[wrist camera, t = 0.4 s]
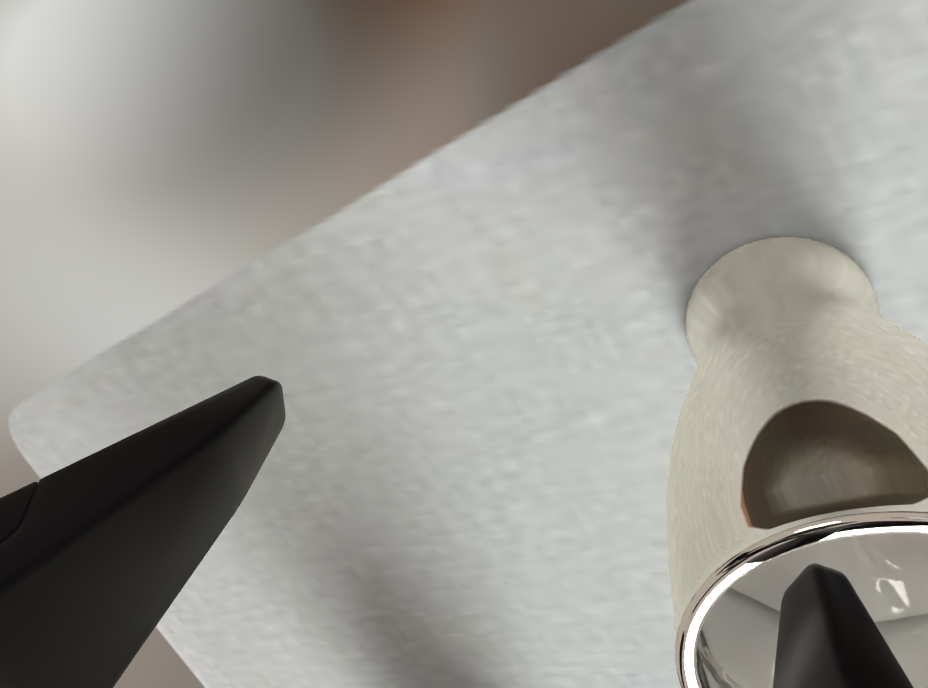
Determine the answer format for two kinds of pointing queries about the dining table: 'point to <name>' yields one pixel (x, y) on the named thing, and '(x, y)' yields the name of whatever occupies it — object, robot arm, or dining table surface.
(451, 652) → the dining table surface
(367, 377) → the dining table surface
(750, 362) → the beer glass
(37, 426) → the dining table surface
